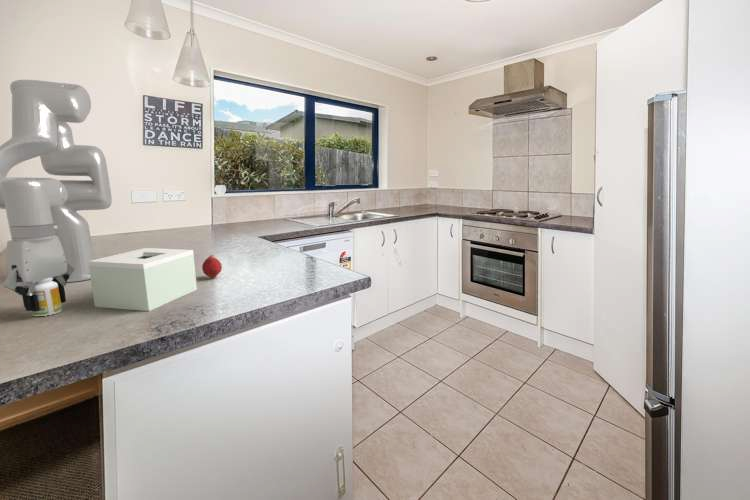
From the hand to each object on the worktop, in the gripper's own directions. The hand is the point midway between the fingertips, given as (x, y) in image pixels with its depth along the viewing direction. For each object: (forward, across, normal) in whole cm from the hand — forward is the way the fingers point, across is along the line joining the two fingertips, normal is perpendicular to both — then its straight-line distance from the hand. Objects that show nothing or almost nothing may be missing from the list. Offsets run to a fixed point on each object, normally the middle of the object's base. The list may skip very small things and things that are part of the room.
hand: (46, 305), depth 88 cm
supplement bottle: (+2, 0, 0) cm, 2 cm away
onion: (+2, -36, +20) cm, 41 cm away
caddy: (+2, -15, +15) cm, 21 cm away
